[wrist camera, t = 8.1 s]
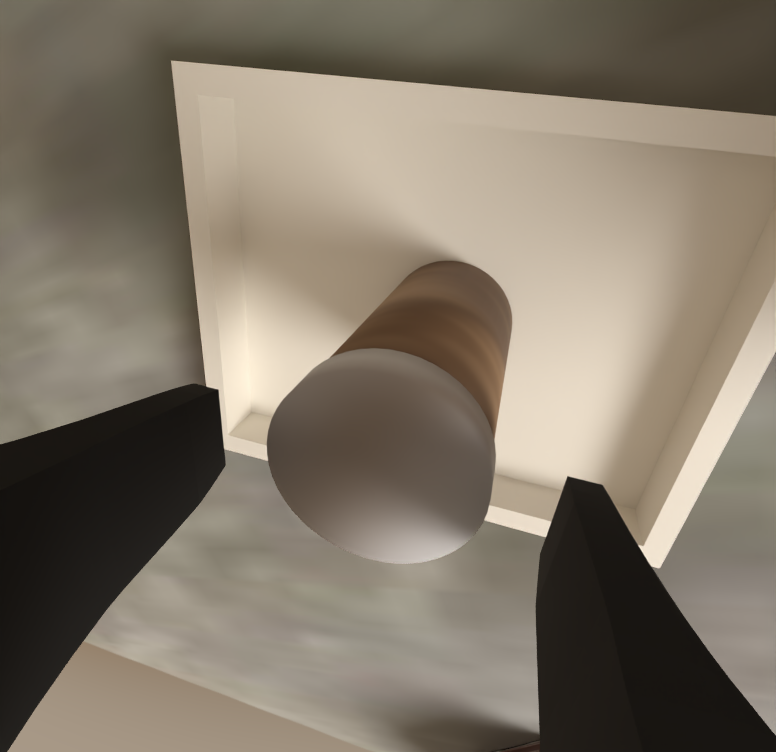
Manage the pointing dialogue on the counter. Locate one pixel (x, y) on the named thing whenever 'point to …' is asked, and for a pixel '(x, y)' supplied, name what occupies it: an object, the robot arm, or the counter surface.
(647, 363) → the tray
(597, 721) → the robot arm
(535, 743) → the box
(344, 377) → the shaker
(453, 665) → the counter surface
